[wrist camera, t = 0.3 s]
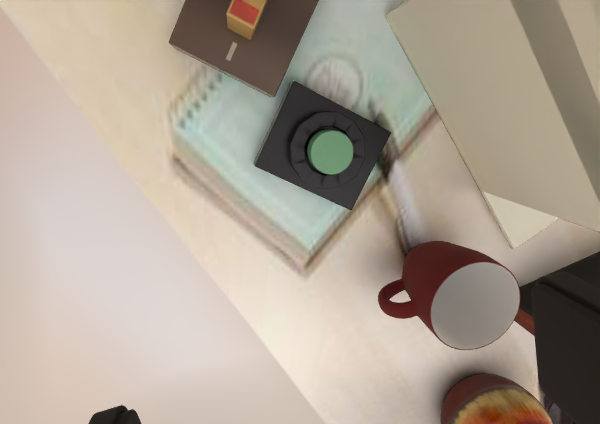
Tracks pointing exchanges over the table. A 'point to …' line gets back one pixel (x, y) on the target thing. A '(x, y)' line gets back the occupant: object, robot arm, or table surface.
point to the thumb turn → (245, 16)
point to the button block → (298, 132)
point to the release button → (330, 151)
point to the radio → (589, 269)
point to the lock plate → (244, 40)
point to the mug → (455, 294)
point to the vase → (491, 403)
